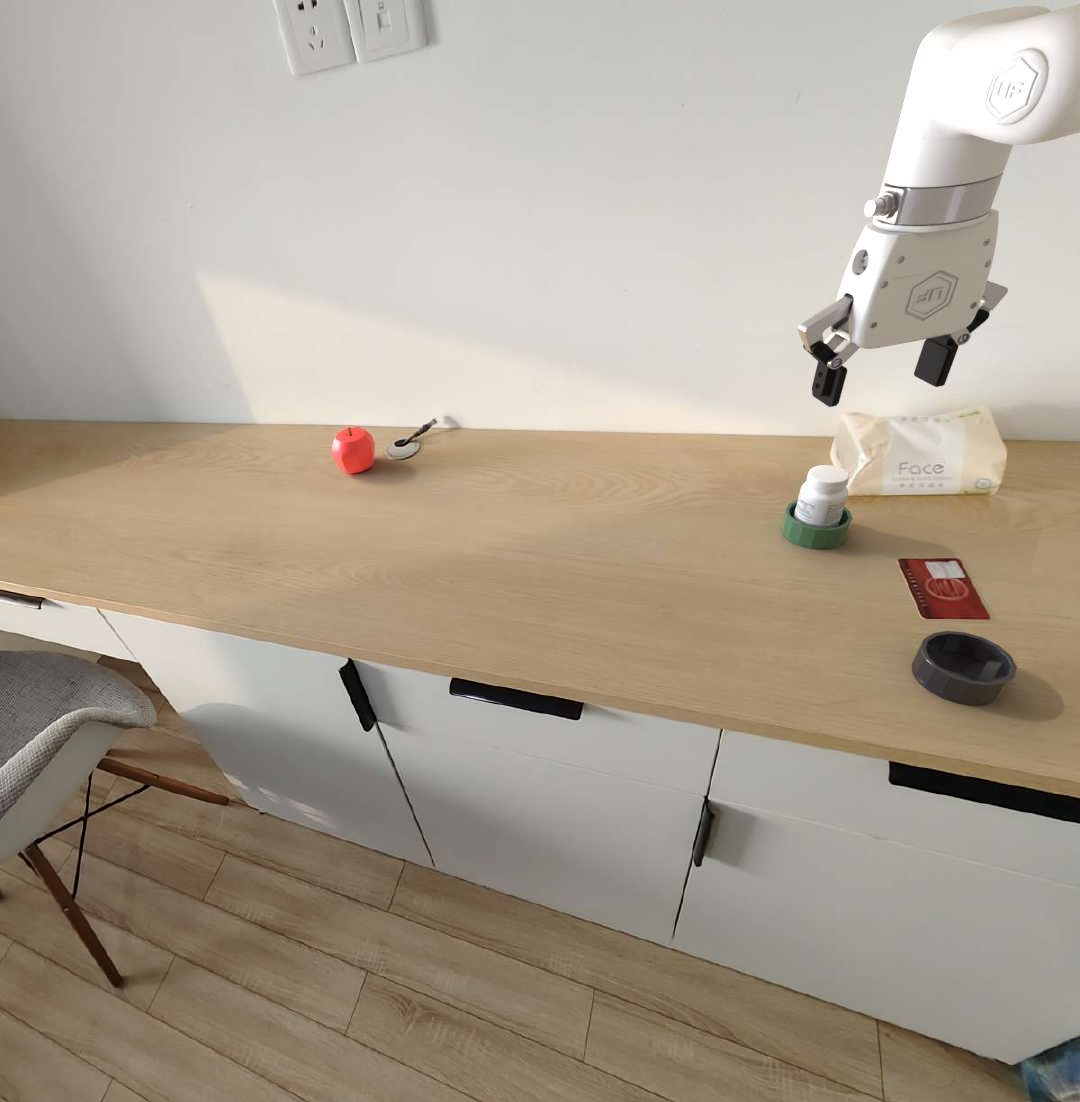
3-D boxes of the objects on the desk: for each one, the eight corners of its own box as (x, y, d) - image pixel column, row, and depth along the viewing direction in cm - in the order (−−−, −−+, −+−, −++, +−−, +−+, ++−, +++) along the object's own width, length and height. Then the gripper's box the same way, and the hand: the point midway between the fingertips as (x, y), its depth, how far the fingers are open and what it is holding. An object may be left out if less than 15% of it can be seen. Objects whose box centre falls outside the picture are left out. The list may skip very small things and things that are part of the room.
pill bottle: (835, 520, 83) (852, 464, 78) (836, 543, 80) (855, 486, 75) (790, 516, 86) (805, 461, 81) (790, 538, 82) (805, 482, 77)
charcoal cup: (1008, 669, 64) (1021, 648, 62) (996, 717, 60) (1010, 696, 58) (919, 642, 68) (929, 621, 66) (904, 685, 64) (914, 665, 63)
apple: (384, 470, 116) (376, 430, 111) (341, 483, 115) (331, 443, 110) (372, 451, 122) (365, 412, 117) (331, 463, 121) (322, 424, 117)
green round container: (852, 525, 83) (858, 506, 81) (836, 555, 79) (843, 536, 77) (790, 511, 87) (795, 492, 85) (773, 539, 84) (778, 520, 82)
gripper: (853, 233, 52) (806, 425, 62) (1089, 183, 50) (1001, 388, 61) (798, 215, 58) (763, 393, 68) (1007, 170, 57) (940, 359, 67)
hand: (875, 391), depth 64 cm, fingers open, 9 cm apart
